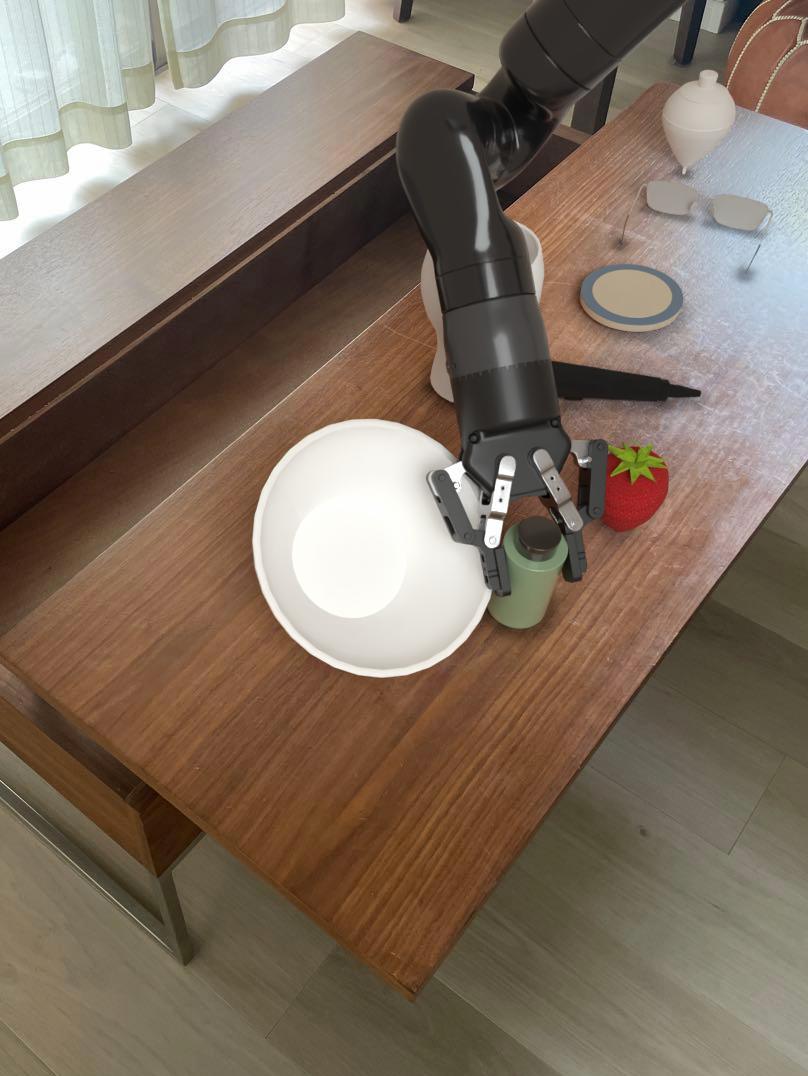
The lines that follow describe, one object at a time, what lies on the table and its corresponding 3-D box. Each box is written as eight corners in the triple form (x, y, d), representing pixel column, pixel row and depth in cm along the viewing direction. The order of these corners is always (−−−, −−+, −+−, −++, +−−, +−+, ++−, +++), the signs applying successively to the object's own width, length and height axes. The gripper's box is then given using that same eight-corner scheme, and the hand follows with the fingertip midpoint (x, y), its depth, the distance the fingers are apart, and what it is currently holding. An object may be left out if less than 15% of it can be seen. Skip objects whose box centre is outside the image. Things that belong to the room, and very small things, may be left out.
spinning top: (666, 196, 124) (691, 95, 115) (638, 161, 129) (660, 62, 120) (730, 185, 125) (760, 84, 115) (699, 151, 130) (726, 51, 120)
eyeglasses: (766, 234, 118) (776, 203, 115) (747, 280, 114) (758, 250, 111) (637, 206, 123) (644, 175, 120) (615, 249, 119) (621, 219, 116)
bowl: (382, 729, 86) (418, 729, 80) (181, 588, 84) (201, 576, 77) (496, 532, 92) (539, 517, 86) (311, 394, 89) (341, 367, 83)
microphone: (682, 409, 106) (477, 388, 106) (700, 353, 103) (489, 332, 103) (699, 434, 101) (484, 412, 101) (718, 377, 98) (496, 354, 98)
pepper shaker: (551, 589, 89) (578, 517, 81) (538, 636, 86) (565, 567, 79) (493, 572, 90) (515, 499, 82) (479, 618, 87) (500, 547, 80)
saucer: (684, 283, 114) (687, 271, 112) (674, 344, 108) (678, 331, 106) (586, 269, 116) (588, 257, 115) (571, 327, 110) (574, 315, 109)
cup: (429, 424, 102) (439, 291, 90) (404, 351, 108) (410, 219, 97) (541, 408, 102) (565, 274, 91) (508, 337, 109) (527, 204, 98)
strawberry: (568, 546, 92) (587, 462, 84) (598, 487, 96) (620, 403, 88) (637, 571, 90) (664, 488, 82) (665, 510, 94) (693, 426, 86)
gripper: (418, 378, 77) (461, 612, 78) (610, 341, 79) (650, 573, 80) (395, 387, 85) (434, 602, 86) (571, 354, 86) (608, 566, 87)
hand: (538, 587), depth 83 cm, fingers closed on pepper shaker, 5 cm apart
